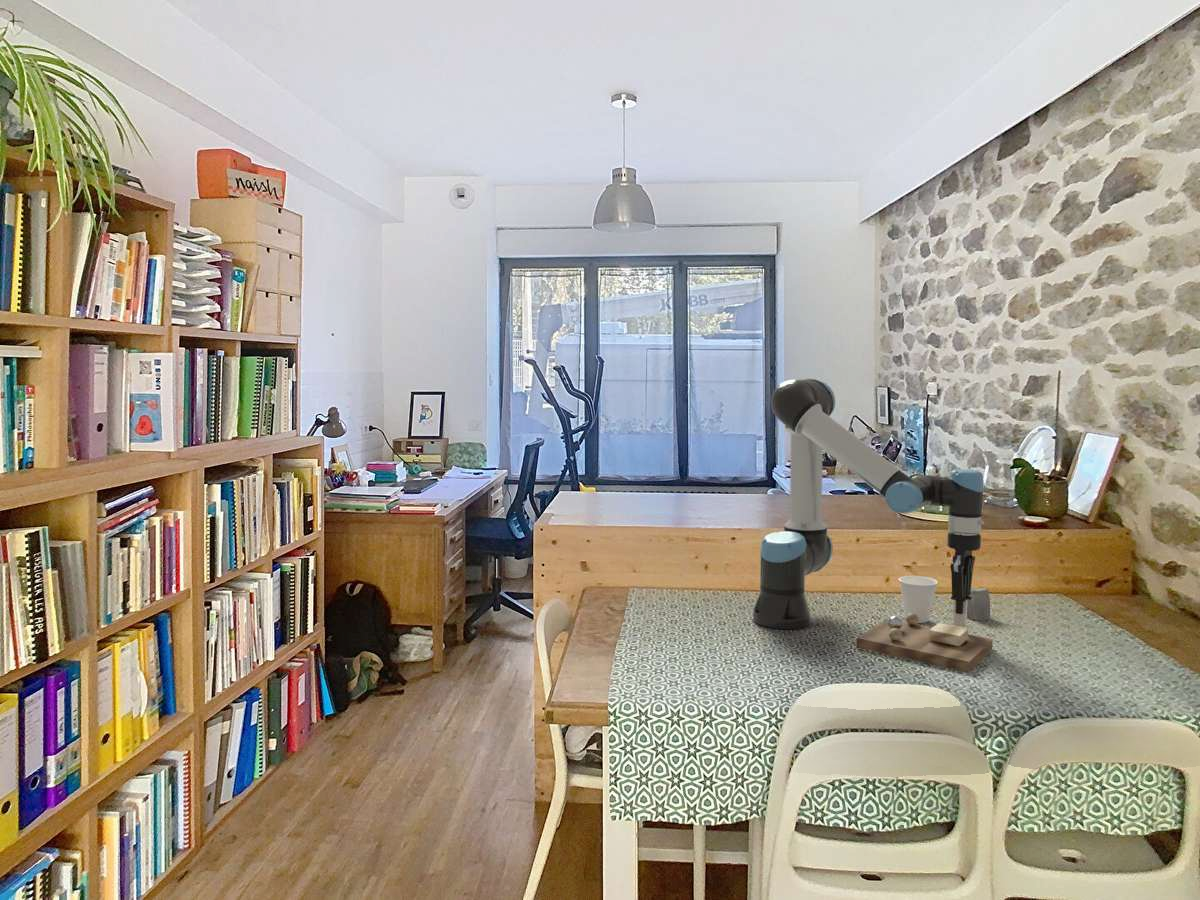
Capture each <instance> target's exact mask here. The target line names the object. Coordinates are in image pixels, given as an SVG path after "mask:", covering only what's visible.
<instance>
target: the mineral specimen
mask: <svg viewBox="0 0 1200 900" xmlns="http://www.w3.org/2000/svg"><path fill="white" fill-rule="evenodd" d="M969 597H972V598H971V600H968V599H966V600H968V605H967V619H968V618H969V619H971V620H972V621H975V622H980V621H984V620H990V619H991V601H990V600H991V598H990V591H989V588H986V587H985V588H984V587H983V588H982V587H978V588H977V587H976V588H975V587H974V588H972V587H971V594H970V595H969Z"/></svg>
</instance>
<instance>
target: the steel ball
mask: <svg viewBox="0 0 1200 900" xmlns="http://www.w3.org/2000/svg"><path fill="white" fill-rule="evenodd" d="M887 619H888V626H889V628H890V629H893V628H897V629H900V628H901V627H902V622H903V620H902V619H901V617H899V616H897V615H892V616H889V618H887Z"/></svg>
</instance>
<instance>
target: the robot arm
mask: <svg viewBox="0 0 1200 900" xmlns="http://www.w3.org/2000/svg"><path fill="white" fill-rule="evenodd" d="M770 399H771V400H770V406H771V410H772V413H773V414H774V416H775V417H776V418H777V419H778V420H779V421H780V422H781V423H782V424H784V425H785V430H787V432H789V434H790V471H789V472H790V473H789V474H790V480H789V481H790V484H789V485H790V486H789V487H790V489H789V492H790V493H789V498H790V499H789V503H790V504H789V519H788V520H787V521H786V522H785V523H784V526H783V529H784V530H782V531H778V532H777V531H776V532H775V531H774V532H771V533H767V535H765V536H763V538H762V540H761V544H760V551H759V552H760V553H759V554H760V570H759V571H760V573H759V575H760V576H759V577H760V578H759V579H760V582H759V585H760V586H759V594H758V595H757V599H756V603H755V605H754V607H753V609H752V610H753V612H752V621H754V623H756V624H757V625H759V626H762V627H765V628H766V627H767V628H771V629H777V630H797V629H798V630H799V629H803V628H806V627H808V626H809V625H810V624H811V612H810V610H809V605H808V603H807V602H808V601H807V599H806V596H805V587H806V586H805V584H806V578H805V577H806V576H808V575H810V574H812V573H816V572H819V571H820V570H822V569H823V568H824V567H826V565H828V563H829V562H830V561H831V559H832V556H833V552H834V551H833V550H834V546H833V542H832V539H831V537H829V535H828V526H827V524H826V523H825V522H824V521H823V520H822V519H823V518H822V516H823V515H822V514H823V513H822V511H823V508H822V507H823V502H822V501H823V451H824V452H826V453H827V454H828V455H829V456H831V457H832V458H834V459H835V460H836V461H837V462H839V463H840V464H841V465H842V466H844V467H845V468H846V469H847V470H848V471H850V472H852V474H854V475H855V476H856V477H858V479H860V480H861V481H863V482H864V483H866V484H867V485H868V486H869V487H871V488H872V489H874V490H875V491H876V492H877V493H878V494H880V495H881V496H882V497H883V498H884V499H885V502H886V504H887V506H888V508H890V510H892V511H893V512H895V513H897V514H906V513H913V512H915V511H916V510H918V509H920V508H923V507H926V506H935V507H942V508H943V507H945V508H946V507H947V508H948V517H947V518H948V523H947V530H948V533H947V546H948V547H949V548H950V549H953V550H954V551H955V552H954V554H953V556H952V563H950V567H949V568H950V572H951V597H950V600H952V601H953V600H954V601H953V602H954V606H953V625H952V626H957V627H962V628H967V623H968V621H967V620H968V617H967V605H968V600H971V598H972V597H969V595H970V594H971V589H972V580H973V575H974V574H973V573H974V565H975V561H976V556H974V555H973V551H974V552H975V551H979V550H980V549H981V541H982V540H981V539H982V535H981V534H980V533H981V532H982V525H985V522H984V520H982V516H983V502H984V501H983V500H984V499H983V498H984V492H985V489H984V475H983V474H984V473H982V472H981V471H979V470H974V469H963V468H961V469H952V470H951V471H950V475H949V476H937V475H927V474H920V473H904V472H903V471H902V470H901V469H899V467H897V466H896V465H894V464H893V463H891V462H890V461H889V460H887V459H886V458H885V457H883V456H882V455H881V454H880V453H878V452H877V451H875V450H874V449H873V448H872V447H870V446H869V445H867V443H865V442H864V441H863V440H862V439H860V438H858V437H857V436H856V435H854V433H852V432H851V431H850V430H848V429H846V428H845V427H844V426H842V425H841V424H840V423H839V422H837V421H836V420H834V419H833V418H832V417H830V416H831V415H832V413H833V412H834V410H835V407H836V396H835V394H834V391H833V390H832V388H831V386H829V385H828V384H827V383H825V382H824V381H822V380H819V379H815V378H803V379H789V380H785V381H783V382H781V383H780V384H778V385H777V386H776V387H775V389H774V390H773V393H772V394H771V398H770ZM966 599H968V600H966Z"/></svg>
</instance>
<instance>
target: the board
mask: <svg viewBox="0 0 1200 900" xmlns="http://www.w3.org/2000/svg"><path fill="white" fill-rule="evenodd" d="M888 619H889V618H885V619H883V620H882V621H880V622H878V624H876V625H874V626H873V627H871V628H870V629H868V630H867V631H865V632H863V633H862V634H861V635H859V636H857V637H856V647H855V648H856V649H859V648H861V649H860V650H864V649H866V650H865V651H868V650H871V651H870V652H873V651H875V652H874V653H877V652H879V653H878V654H882V655H883V654H884V655H887V656H892V657H896V658H900V659H905V660H909V661H910V660H911V661H915V662H919V663H924V664H928V665H933V666H937V667H943V668H947V669H951V670H956V671H960V672H964V673H970V672H971V671H972V670H973V669H974V668H975V667H976V666H977V665H978V664H979V663H980V662H981V661H982V660H983V659H984V658H985V657H986V656H987V655H988V654H989V653H990V652H991V651H992V650H993V638H989V637H983V636H978V635H973V634H969V633H968V639H967V640H966V641H965V642H964V643H963V644H962V645H960V646H955V645H950V644H945V643H941V642H936V641H931V640H929V630H930V629H931V628H933V627H932V626H928V625H927V626H926V625H921V624H918V623H917V624H915V625H910V624H908V623H907V621H906V622H905V621H902V627H901V628H900V629H899V630H900V631H901V632H902V638H901V639H900V640H898V641H894V640H892V639H891V638H890V636H889V632H890V630H891V629H890V628H889V626H888Z"/></svg>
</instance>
